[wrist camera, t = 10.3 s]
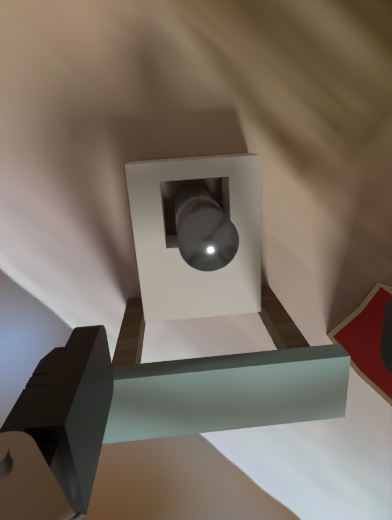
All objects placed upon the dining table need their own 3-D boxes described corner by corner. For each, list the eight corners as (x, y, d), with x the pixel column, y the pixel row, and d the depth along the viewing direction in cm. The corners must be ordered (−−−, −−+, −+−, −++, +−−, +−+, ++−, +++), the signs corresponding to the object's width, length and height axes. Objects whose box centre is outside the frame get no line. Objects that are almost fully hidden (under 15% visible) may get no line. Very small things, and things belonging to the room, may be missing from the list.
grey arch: (122, 274, 32) (85, 383, 18) (271, 261, 33) (350, 356, 19) (128, 314, 34) (97, 444, 19) (271, 300, 34) (344, 417, 20)
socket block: (130, 161, 29) (124, 164, 25) (248, 152, 29) (260, 154, 26) (147, 302, 33) (144, 322, 30) (250, 292, 34) (261, 311, 30)
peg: (175, 224, 31) (180, 273, 20) (172, 186, 30) (175, 214, 19) (213, 221, 31) (240, 268, 20) (211, 183, 30) (238, 209, 19)
